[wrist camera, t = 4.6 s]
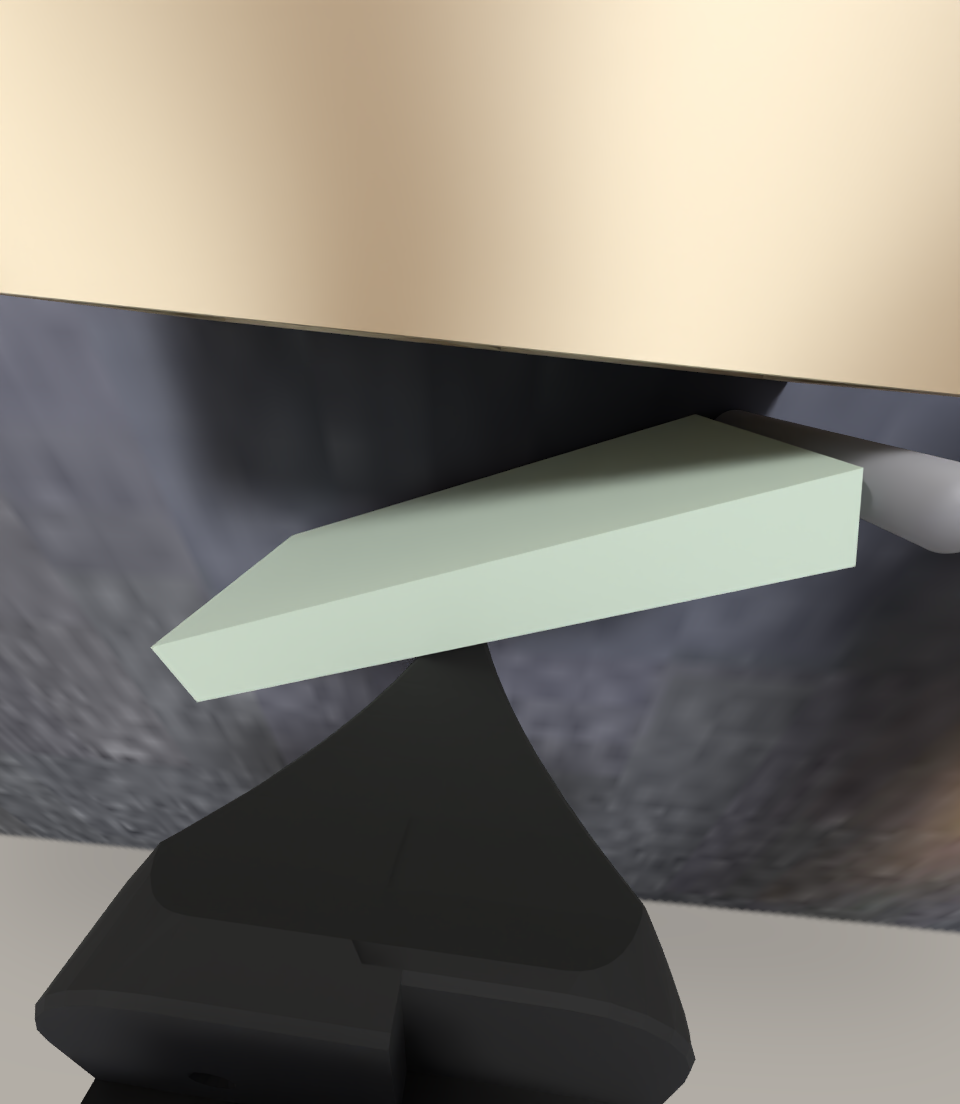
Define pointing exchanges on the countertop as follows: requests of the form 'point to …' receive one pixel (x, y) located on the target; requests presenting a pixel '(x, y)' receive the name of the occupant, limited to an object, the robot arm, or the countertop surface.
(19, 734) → the countertop surface
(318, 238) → the cabinet
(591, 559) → the door
